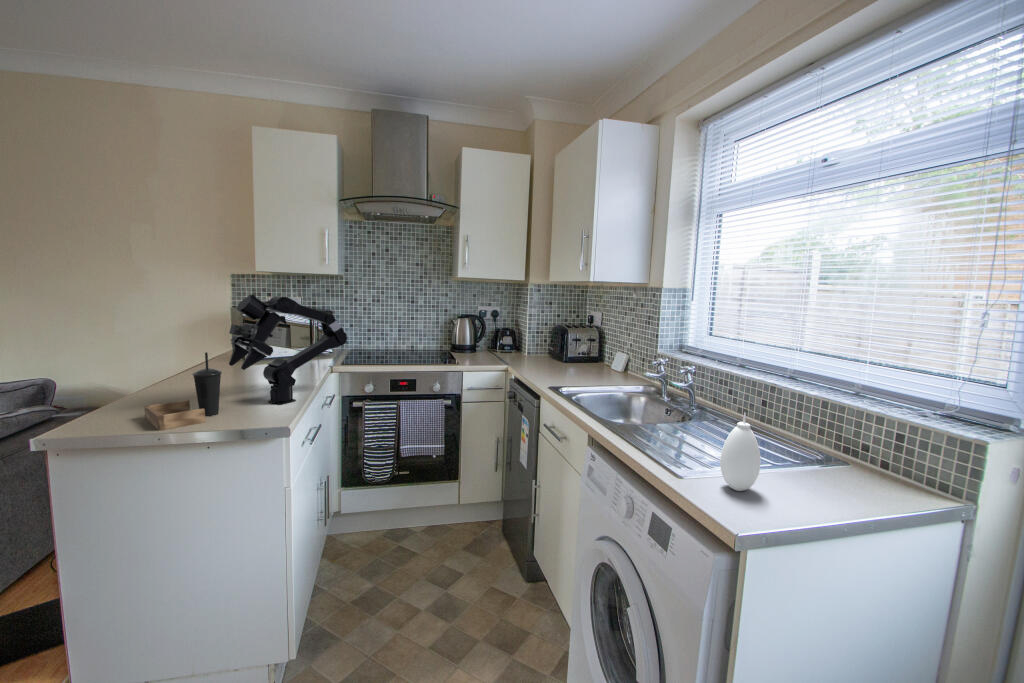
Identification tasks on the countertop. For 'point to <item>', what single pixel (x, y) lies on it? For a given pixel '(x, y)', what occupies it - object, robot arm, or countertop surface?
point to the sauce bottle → (740, 457)
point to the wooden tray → (173, 415)
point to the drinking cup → (208, 388)
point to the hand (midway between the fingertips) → (236, 367)
